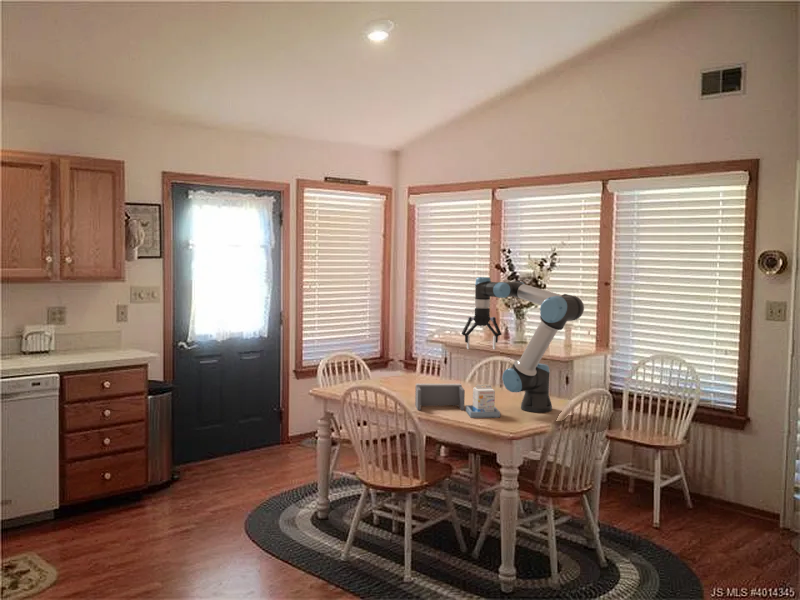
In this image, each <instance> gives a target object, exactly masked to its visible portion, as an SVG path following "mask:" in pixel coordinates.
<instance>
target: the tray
mask: <svg viewBox="0 0 800 600" xmlns="http://www.w3.org/2000/svg"><path fill="white" fill-rule="evenodd" d="M472 409H473V404H472V405H471V404H468V405H467V404H465V406H464V411H465V413H466V414H467V415H468V416H469V418H471V419H476V418H477V419H478V418H479V419H481V418H482V419H483V418H484V419H485V418H488V419H491V418H493V419H495V418H496V419H497V418H498V419H499V418H501V412H500V410H499V409H498V408H497V407H496V406H495V407H494V412H473V411H472Z"/></svg>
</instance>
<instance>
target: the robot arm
mask: <svg viewBox="0 0 800 600" xmlns="http://www.w3.org/2000/svg"><path fill="white" fill-rule="evenodd" d="M474 287H475V288H474V291H475V293H474V294H475V295H474V317H473V316H468V317H467V318H468V319H467V321H466V324H465V326H464V327H463V330H462V331H461V335H462V336H464V343H466V349H467V350H470V336H469V335H471V333H472V332H473V331H474V329H476V327H478V326H479V327H482V326H483V327H487V328H488V329H489V330H490V331H491V332H492V334H493V336H492V349H493V350H496V346H497V345H496V344H497V343H498V337H499V336H501V335H502V332H501V330H500V327H499V326H498V323H497V319H496V317H495V316H491V317H490V310H491V309H490V307H491V304H490V303H491V297H492V298H499V299H504V298H509V297H510V298H512V297H514V298H517V299H520V300H522V301H527V302H530V303H533V304H537V305H540V307H539V311H540V312H539V314H540V316H539V319H540V323H539V325H538V326H537V328H536V330H535V331H534V333H533V335H532V337H531V338H530V340H529V342H528V344H527V346H526V348H525V349H524V351H523V353H522V355H521V357H520V358H519V359H516V360H514V362H513V364H512V365H511V367H508V368H506V369H505V370H504V371H503V373H502V383H503V386H504V387H505V389H506V390H507V391H509V392H510V393H520V392H521V393H522V392H524V395H523V398H522V401H521V403H520V409H521V410H523V411H525V412H526V411H527V412H530V413H549V412H552V411H553V406H552V405H553V404H552V401H551V397H550V393H549V392H550V391H549V390H550V374H551V372H550V366H549V365H548V364H545V363H540V361H541V360H542V358H543V356H544V354H545V353H546V351H547V350H548V348H549V346H550V344H551V342H552V341H553V340H554V338H555V336H556V334H557V332H558V331H561V330H563V329H564V327H565V325H566V323H568V322H571V321H576V320H578V319H580V318H581V317H582V315H583V314H584V310H585V306H584V303H583V301H582V299H581V298H579V297H578V296H576V295H571V294H568V293H567V294H566V293H564V294H559V293H557V292H553V291H548V290H545V289H542V288H539V287H536V286H531V285H528V284H526V283H525V282H523V281H517V280H516V281H499V282H498V281H492V280H491V277H486V276H480V277H476V278H475V285H474ZM473 321H474V322H473ZM490 321H491V322H492V324H493V326H494V328H495V330H494V328H493V327H492V326H491V324H490ZM472 322H473V324H472ZM471 324H472V326H471ZM469 327H470V328H469Z"/></svg>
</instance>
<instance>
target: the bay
mask: <svg viewBox="0 0 800 600" xmlns="http://www.w3.org/2000/svg"><path fill="white" fill-rule="evenodd" d="M465 396H466V395H465V388H463V386H462V384H461V383H415V396H414V398H415V401H414V404H415V408H416V410H417V411H421V407H423V406H427V407H428V406H429V407H431V406H433V407H434V406H435V407H436V406H438V405H439V407H440V406H441V407H442V406H443V407H445V406H444V405H453V406H452V407H454V405H455V406H456V405H458V408H459V409H460V410H461V411H465Z"/></svg>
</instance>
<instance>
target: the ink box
mask: <svg viewBox="0 0 800 600" xmlns="http://www.w3.org/2000/svg"><path fill="white" fill-rule="evenodd" d="M483 386H484V387H483ZM495 399H496V390H495V389H493V386H492V384H475V386H474V387H473V388H472V405H473V409H472V411H473V412H494V407H496V405H495V403H496V402H495Z"/></svg>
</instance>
